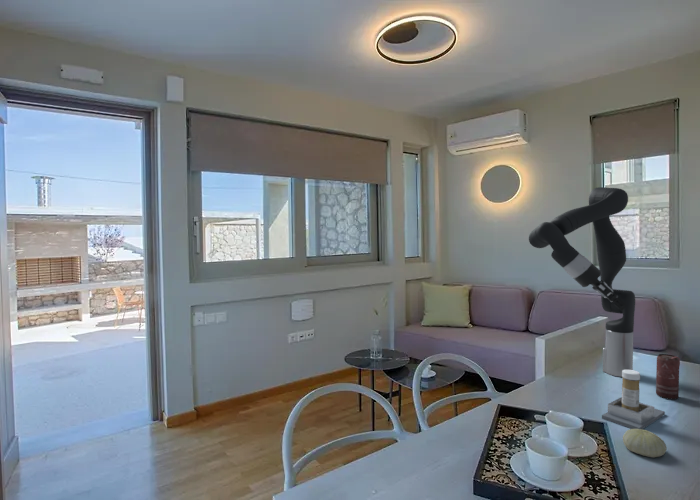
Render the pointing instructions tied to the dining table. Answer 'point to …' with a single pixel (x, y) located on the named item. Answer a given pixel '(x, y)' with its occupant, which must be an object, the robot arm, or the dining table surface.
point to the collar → (631, 412)
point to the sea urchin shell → (644, 443)
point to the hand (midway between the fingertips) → (620, 305)
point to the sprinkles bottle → (630, 390)
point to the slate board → (633, 425)
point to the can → (667, 376)
